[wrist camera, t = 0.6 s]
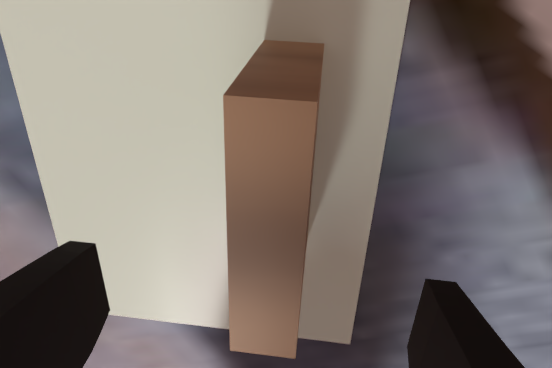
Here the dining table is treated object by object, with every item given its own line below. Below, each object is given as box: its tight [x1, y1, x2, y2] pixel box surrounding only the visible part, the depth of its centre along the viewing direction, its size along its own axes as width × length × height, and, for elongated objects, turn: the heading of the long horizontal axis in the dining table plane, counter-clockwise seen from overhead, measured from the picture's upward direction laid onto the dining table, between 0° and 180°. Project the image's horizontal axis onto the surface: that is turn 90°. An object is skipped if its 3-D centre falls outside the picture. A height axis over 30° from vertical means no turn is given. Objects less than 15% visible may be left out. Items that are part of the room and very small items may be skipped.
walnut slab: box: [223, 40, 324, 359], centre depth 14 cm, size 8×2×6 cm, turn 178°
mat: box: [0, 0, 410, 344], centre depth 18 cm, size 16×14×1 cm
